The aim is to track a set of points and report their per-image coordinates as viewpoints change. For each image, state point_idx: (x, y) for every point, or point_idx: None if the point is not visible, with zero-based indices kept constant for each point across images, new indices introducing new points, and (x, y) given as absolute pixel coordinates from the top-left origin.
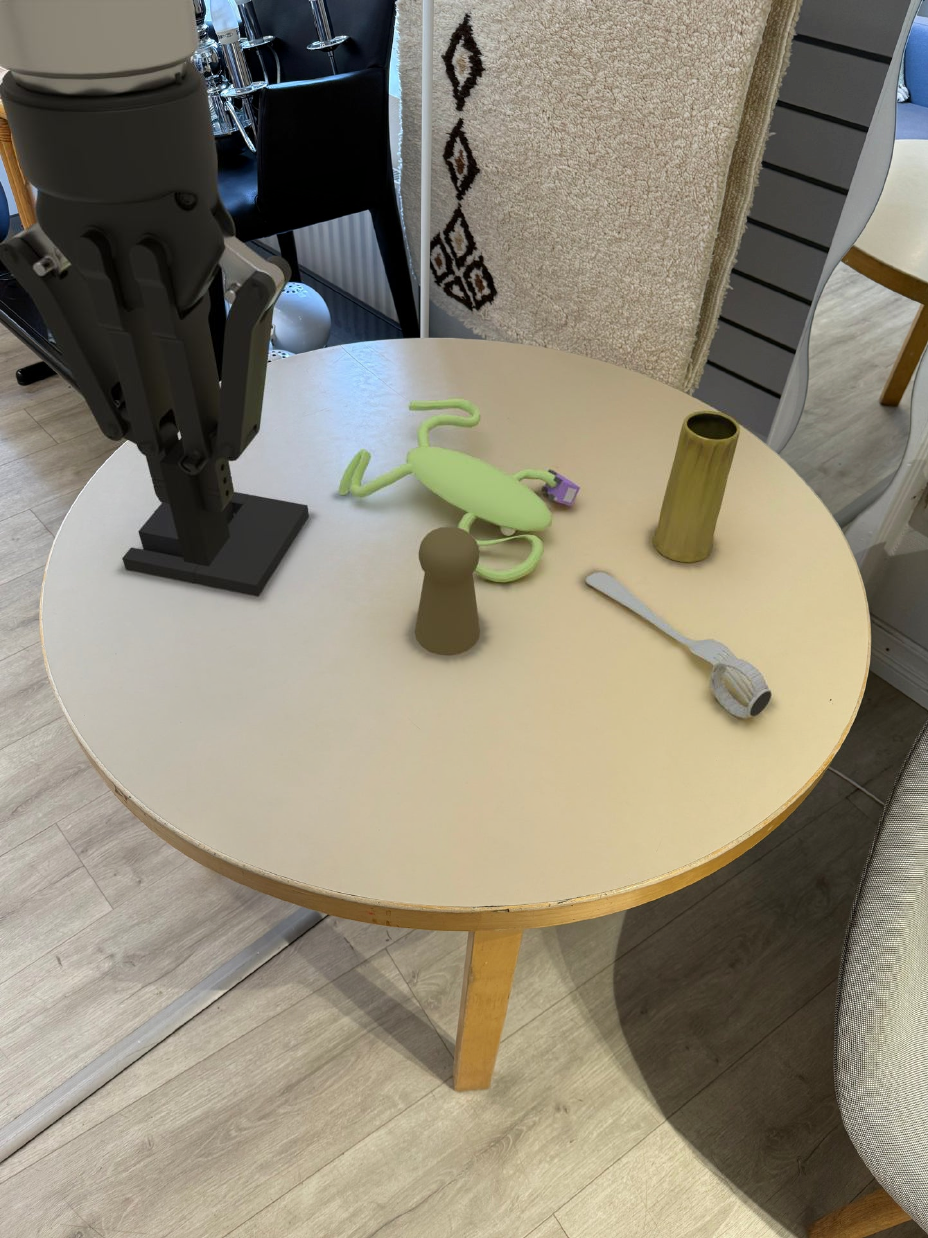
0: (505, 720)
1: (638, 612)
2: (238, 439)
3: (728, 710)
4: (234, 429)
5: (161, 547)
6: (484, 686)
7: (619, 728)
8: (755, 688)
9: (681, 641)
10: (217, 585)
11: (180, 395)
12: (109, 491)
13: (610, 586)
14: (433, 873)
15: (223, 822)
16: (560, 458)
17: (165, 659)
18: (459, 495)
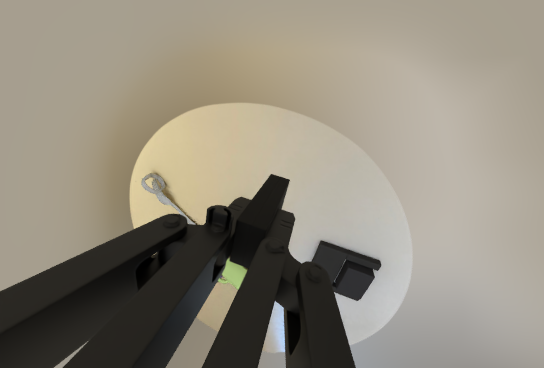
0: (226, 177)
1: (188, 218)
2: (143, 226)
3: (161, 178)
4: (135, 236)
5: (364, 268)
6: (235, 192)
7: (191, 173)
8: (144, 179)
9: (174, 205)
10: (338, 247)
11: (165, 294)
12: (392, 303)
13: None
14: (244, 114)
15: (322, 134)
16: (219, 288)
17: (356, 213)
18: (244, 274)
